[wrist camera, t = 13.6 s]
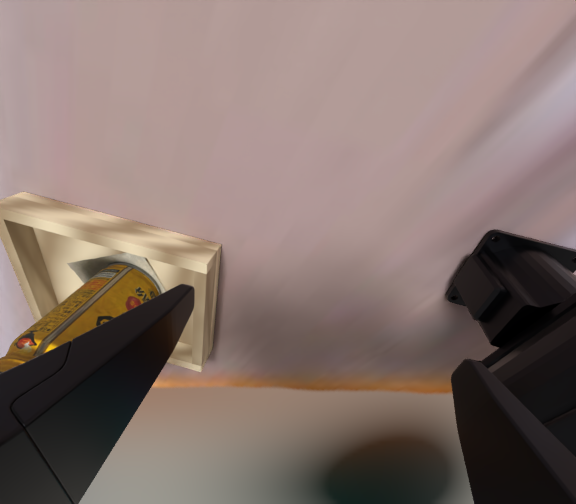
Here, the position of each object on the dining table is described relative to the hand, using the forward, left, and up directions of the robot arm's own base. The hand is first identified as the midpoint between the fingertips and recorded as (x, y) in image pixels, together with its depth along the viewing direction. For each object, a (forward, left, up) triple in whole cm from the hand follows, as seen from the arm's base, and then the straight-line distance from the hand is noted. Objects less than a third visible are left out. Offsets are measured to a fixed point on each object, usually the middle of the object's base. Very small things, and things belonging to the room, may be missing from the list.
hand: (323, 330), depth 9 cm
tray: (+17, +14, -13) cm, 25 cm away
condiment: (+17, +14, -12) cm, 25 cm away
